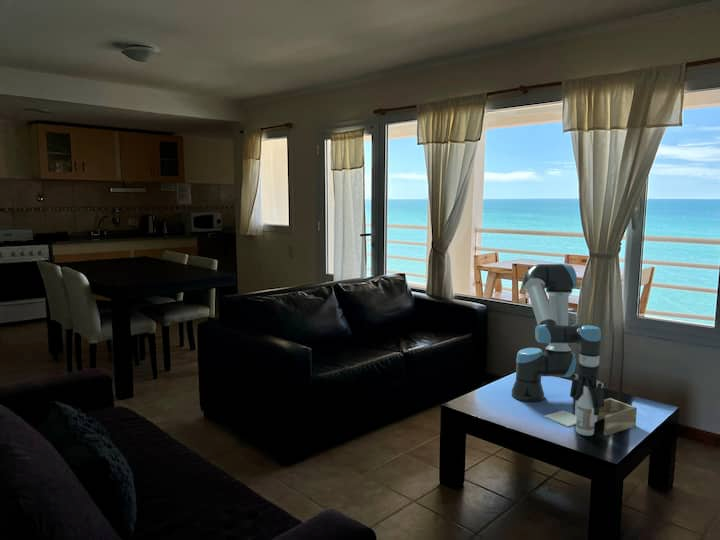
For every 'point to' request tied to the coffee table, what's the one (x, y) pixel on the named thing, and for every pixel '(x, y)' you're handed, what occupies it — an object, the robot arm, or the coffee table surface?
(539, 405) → the coffee table surface
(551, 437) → the coffee table surface
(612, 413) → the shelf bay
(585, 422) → the bath foam
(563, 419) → the tile
